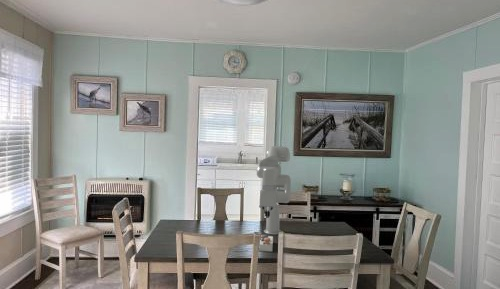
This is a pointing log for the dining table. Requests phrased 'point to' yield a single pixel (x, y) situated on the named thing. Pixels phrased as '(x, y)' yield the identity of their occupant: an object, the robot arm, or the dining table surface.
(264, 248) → the panel
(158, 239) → the dining table surface
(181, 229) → the dining table surface
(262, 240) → the middle button
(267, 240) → the button
